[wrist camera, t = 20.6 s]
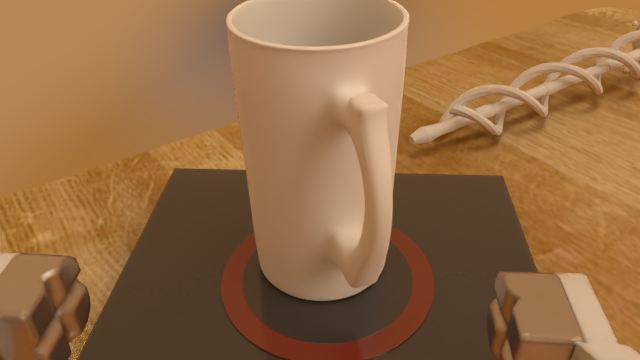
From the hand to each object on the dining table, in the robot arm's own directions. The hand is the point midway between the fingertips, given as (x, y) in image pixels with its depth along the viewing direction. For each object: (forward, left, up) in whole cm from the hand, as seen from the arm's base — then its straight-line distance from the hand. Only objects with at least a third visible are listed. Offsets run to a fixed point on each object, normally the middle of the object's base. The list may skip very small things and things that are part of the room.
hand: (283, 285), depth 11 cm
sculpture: (+18, +32, -13) cm, 39 cm away
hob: (0, +11, -12) cm, 17 cm away
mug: (0, +11, -11) cm, 16 cm away
